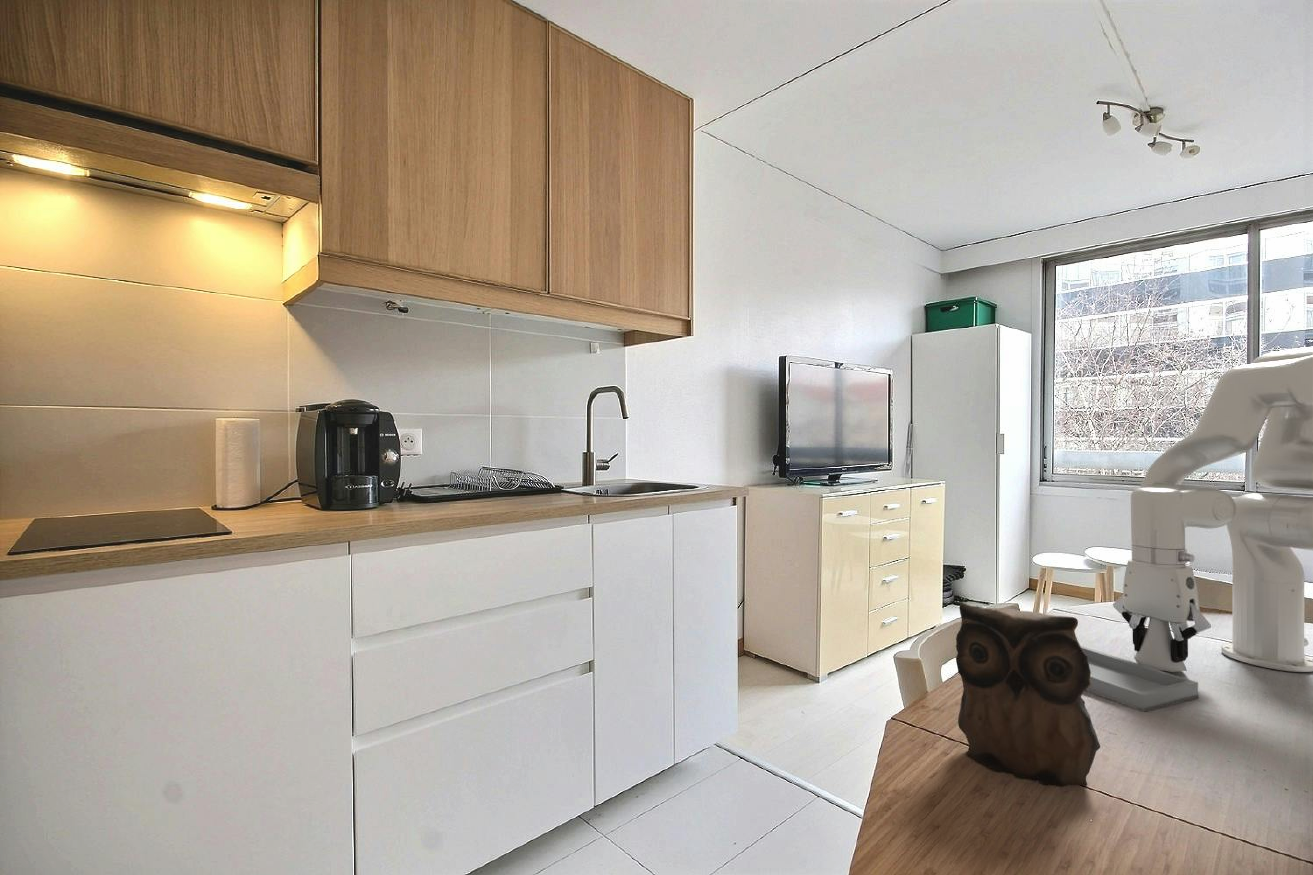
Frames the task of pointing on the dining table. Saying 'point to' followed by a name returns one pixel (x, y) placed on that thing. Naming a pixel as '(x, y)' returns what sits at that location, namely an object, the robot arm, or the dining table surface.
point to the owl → (1025, 695)
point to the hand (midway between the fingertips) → (1159, 654)
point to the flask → (1158, 648)
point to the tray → (1136, 683)
